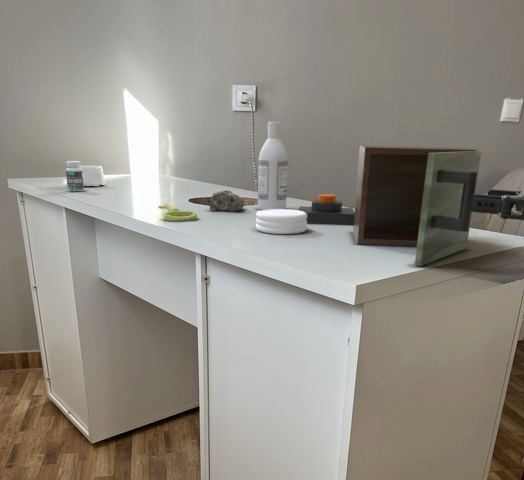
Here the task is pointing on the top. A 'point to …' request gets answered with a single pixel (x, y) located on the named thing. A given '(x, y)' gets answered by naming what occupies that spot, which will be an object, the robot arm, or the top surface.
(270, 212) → the white flat cylinder
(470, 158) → the door
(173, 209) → the key
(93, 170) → the white rounded block
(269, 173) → the bath foam
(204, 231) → the top surface
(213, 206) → the rock
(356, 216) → the cupboard
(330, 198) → the button
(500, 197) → the robot arm
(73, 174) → the pill bottle
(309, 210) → the switch block
